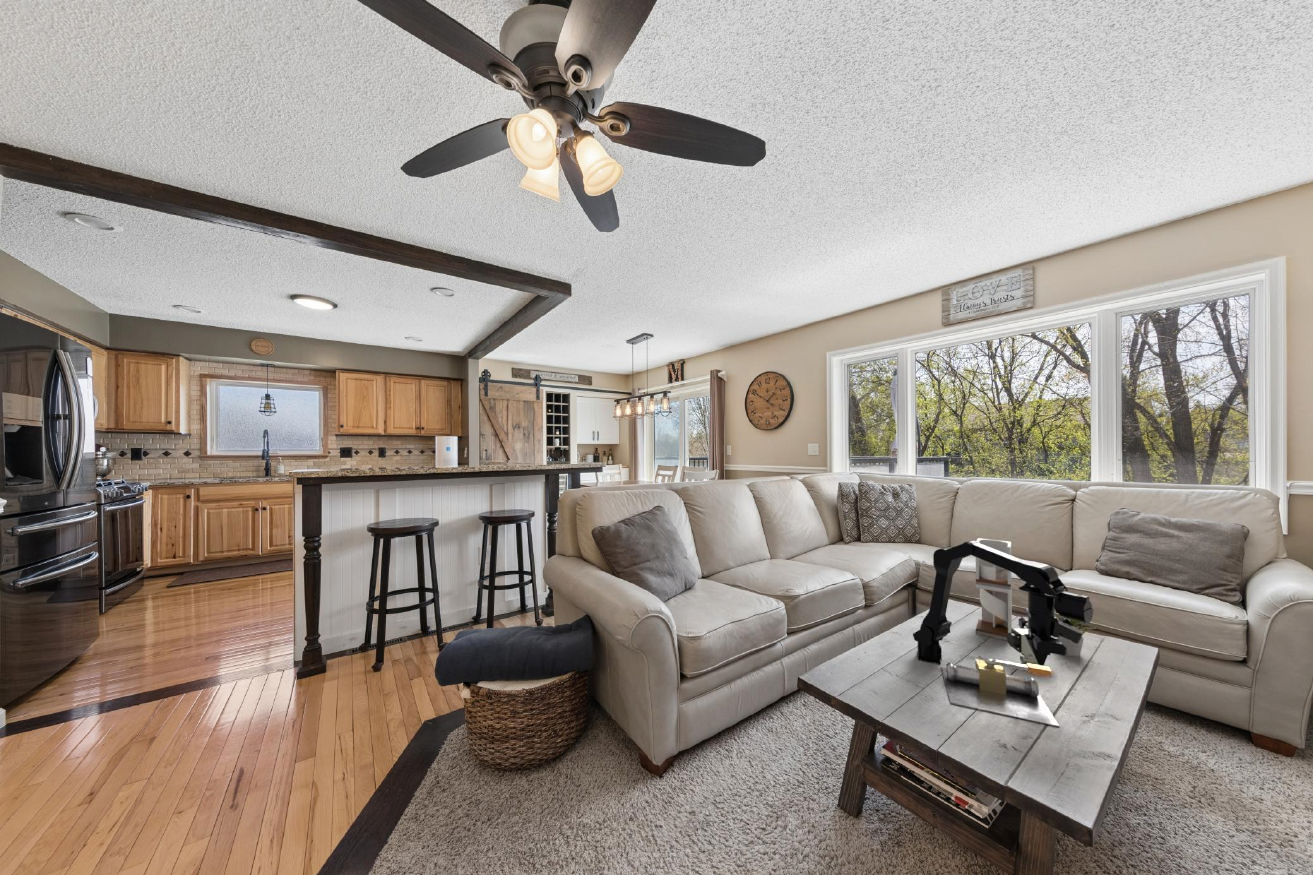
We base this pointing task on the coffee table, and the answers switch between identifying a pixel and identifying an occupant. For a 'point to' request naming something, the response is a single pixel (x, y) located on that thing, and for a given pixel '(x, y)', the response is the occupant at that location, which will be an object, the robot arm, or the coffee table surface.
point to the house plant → (1072, 647)
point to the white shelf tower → (994, 593)
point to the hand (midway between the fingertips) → (1040, 664)
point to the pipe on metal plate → (996, 692)
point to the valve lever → (1021, 666)
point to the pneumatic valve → (1021, 645)
